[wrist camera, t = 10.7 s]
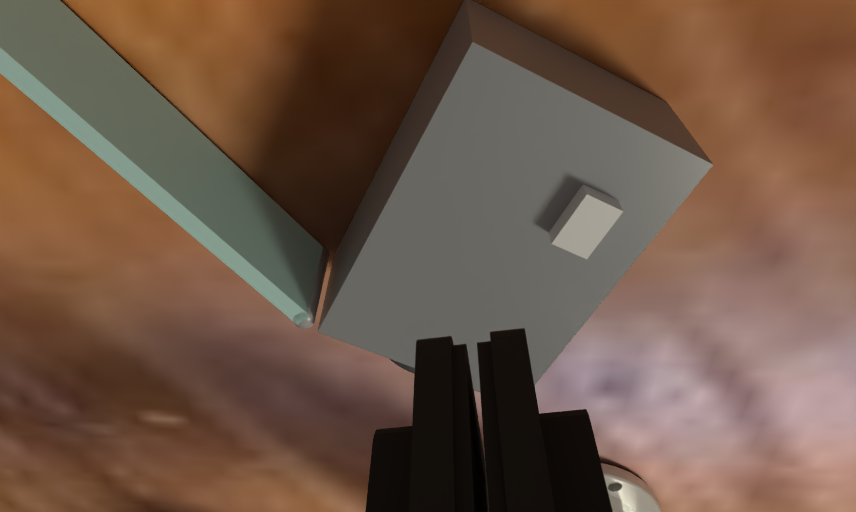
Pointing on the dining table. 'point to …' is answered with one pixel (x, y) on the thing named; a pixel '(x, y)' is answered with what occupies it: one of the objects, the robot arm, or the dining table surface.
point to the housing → (506, 199)
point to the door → (159, 152)
